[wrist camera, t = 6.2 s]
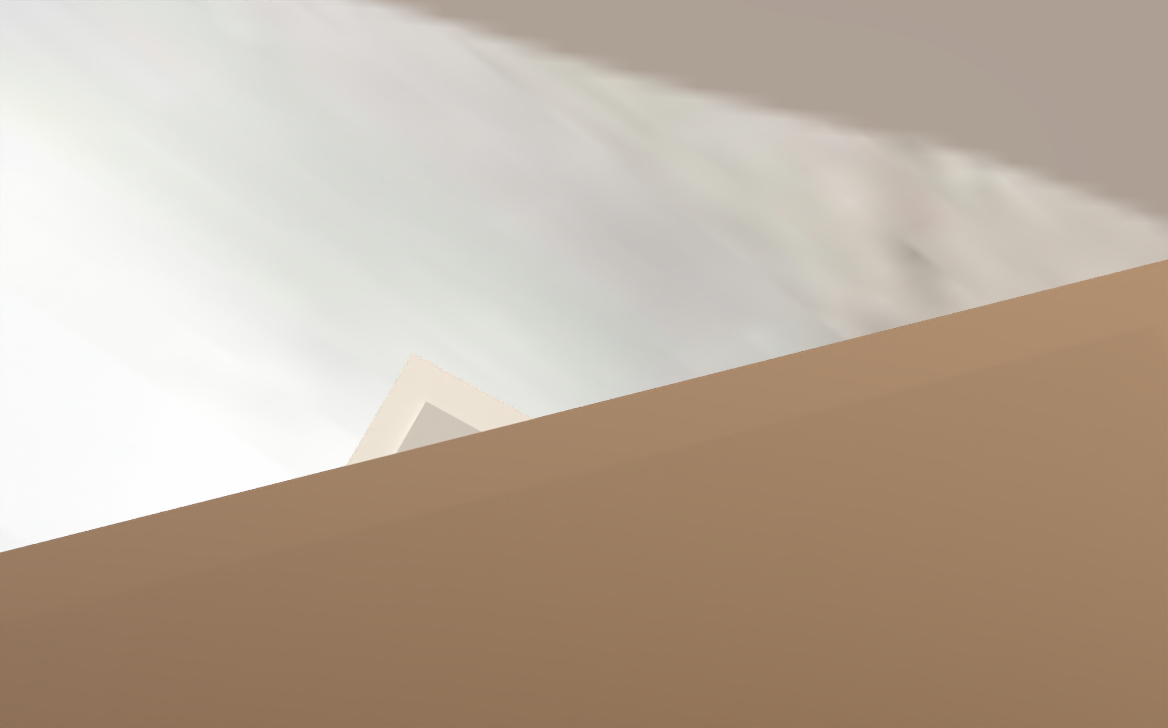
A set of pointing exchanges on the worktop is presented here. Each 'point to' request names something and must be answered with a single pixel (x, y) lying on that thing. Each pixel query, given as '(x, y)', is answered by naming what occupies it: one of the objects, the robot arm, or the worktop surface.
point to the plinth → (430, 412)
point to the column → (672, 555)
